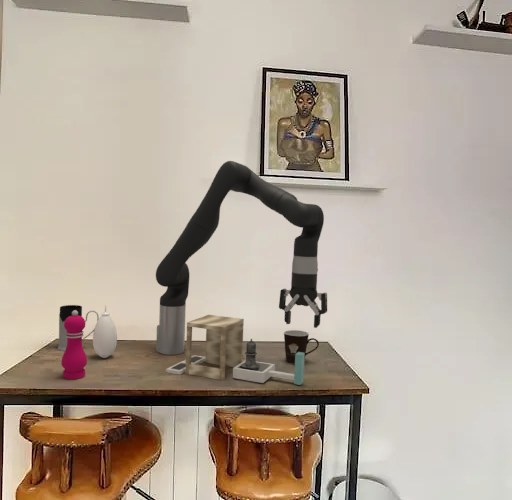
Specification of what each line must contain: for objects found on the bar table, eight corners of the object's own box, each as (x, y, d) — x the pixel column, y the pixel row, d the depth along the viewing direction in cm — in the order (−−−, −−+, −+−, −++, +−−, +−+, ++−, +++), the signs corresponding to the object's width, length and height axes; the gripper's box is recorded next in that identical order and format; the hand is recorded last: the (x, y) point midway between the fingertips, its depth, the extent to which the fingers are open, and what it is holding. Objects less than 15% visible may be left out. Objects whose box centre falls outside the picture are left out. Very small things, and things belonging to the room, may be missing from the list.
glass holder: (62, 344, 180) (62, 304, 179) (100, 345, 181) (101, 305, 180) (53, 350, 172) (54, 308, 171) (94, 351, 173) (95, 309, 172)
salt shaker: (256, 380, 148) (258, 341, 147) (238, 378, 149) (239, 339, 148) (261, 374, 153) (262, 337, 153) (243, 372, 155) (244, 335, 154)
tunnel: (185, 373, 152) (186, 322, 151) (207, 361, 165) (208, 314, 164) (223, 380, 147) (224, 327, 146) (241, 367, 160) (243, 318, 159)
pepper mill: (71, 381, 140) (72, 313, 139) (55, 376, 144) (56, 310, 143) (91, 375, 147) (93, 310, 145) (76, 370, 150) (77, 307, 149)
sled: (232, 377, 148) (233, 348, 147) (245, 368, 157) (246, 341, 157) (297, 388, 140) (298, 358, 140) (306, 378, 150) (307, 350, 149)
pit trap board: (165, 372, 152) (166, 368, 152) (194, 358, 169) (194, 354, 169) (179, 374, 150) (179, 371, 150) (206, 360, 167) (206, 356, 167)
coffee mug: (277, 360, 169) (278, 332, 168) (293, 356, 175) (294, 329, 175) (304, 368, 161) (305, 339, 161) (319, 363, 168) (320, 335, 167)
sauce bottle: (98, 361, 160) (99, 308, 159) (88, 356, 166) (89, 304, 165) (120, 358, 166) (121, 306, 164) (110, 352, 171) (111, 302, 170)
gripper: (277, 270, 142) (275, 325, 143) (325, 274, 137) (322, 331, 138) (285, 268, 149) (283, 320, 150) (331, 272, 144) (328, 326, 145)
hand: (301, 325), depth 144 cm, fingers open, 8 cm apart
